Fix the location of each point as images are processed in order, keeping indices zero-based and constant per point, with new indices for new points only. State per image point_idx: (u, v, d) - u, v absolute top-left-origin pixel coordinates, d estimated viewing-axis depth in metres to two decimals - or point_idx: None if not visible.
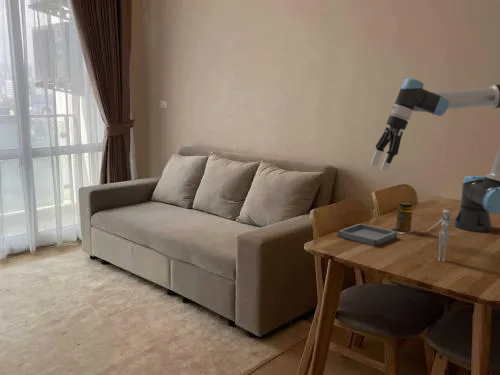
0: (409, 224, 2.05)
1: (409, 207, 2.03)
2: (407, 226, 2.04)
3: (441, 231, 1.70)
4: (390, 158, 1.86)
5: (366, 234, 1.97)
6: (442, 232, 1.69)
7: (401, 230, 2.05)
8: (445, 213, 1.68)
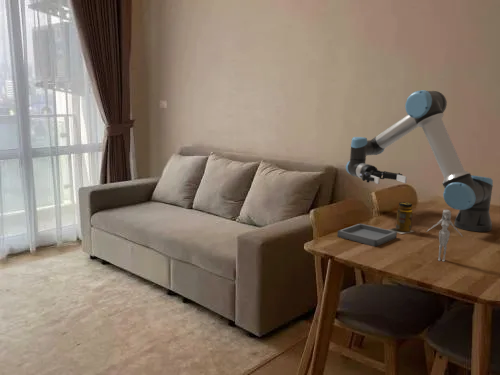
0: (409, 224, 2.05)
1: (409, 207, 2.03)
2: (407, 226, 2.04)
3: (441, 231, 1.70)
4: (369, 178, 2.15)
5: (366, 234, 1.97)
6: (442, 232, 1.69)
7: (401, 230, 2.05)
8: (445, 213, 1.68)
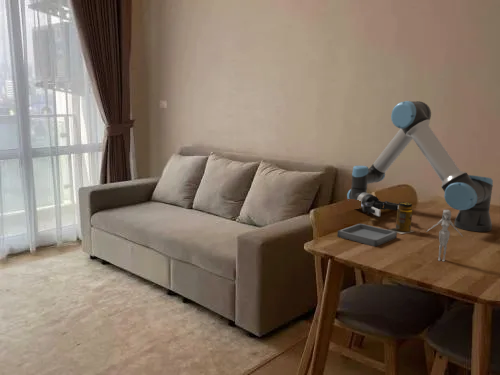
0: (409, 224, 2.05)
1: (409, 207, 2.03)
2: (407, 226, 2.04)
3: (441, 231, 1.70)
4: (370, 210, 2.14)
5: (366, 234, 1.97)
6: (442, 232, 1.69)
7: (401, 230, 2.05)
8: (445, 213, 1.68)
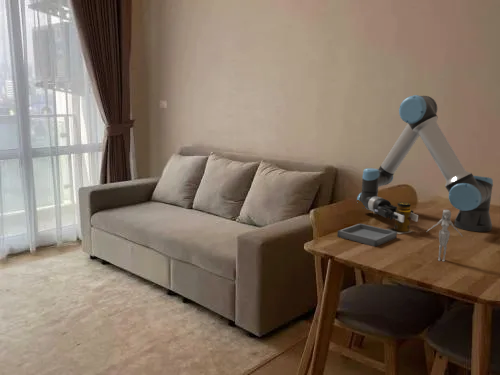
0: (407, 224, 2.04)
1: (408, 207, 2.03)
2: (406, 226, 2.04)
3: (441, 231, 1.70)
4: (392, 216, 2.05)
5: (366, 234, 1.97)
6: (442, 232, 1.69)
7: (399, 230, 2.05)
8: (445, 213, 1.68)
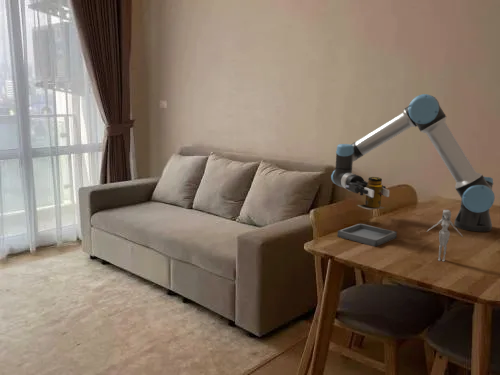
0: (378, 200, 1.94)
1: (378, 181, 1.93)
2: (376, 201, 1.94)
3: (441, 231, 1.70)
4: (363, 191, 1.95)
5: (366, 234, 1.97)
6: (442, 232, 1.69)
7: (370, 206, 1.95)
8: (445, 213, 1.68)
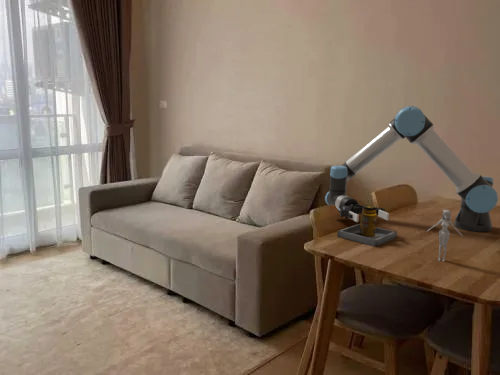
0: (373, 228, 1.93)
1: (373, 210, 1.92)
2: (371, 230, 1.93)
3: (441, 231, 1.70)
4: (347, 215, 1.94)
5: None
6: (442, 232, 1.69)
7: (364, 235, 1.94)
8: (445, 213, 1.68)
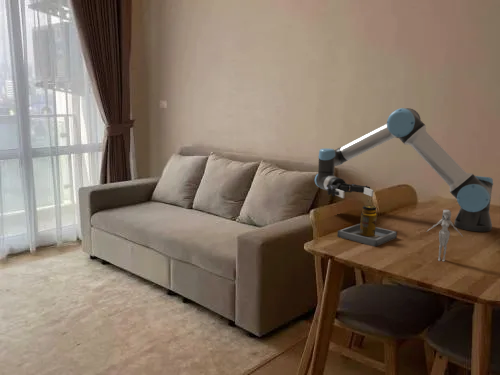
0: (373, 228, 1.93)
1: (373, 210, 1.92)
2: (371, 230, 1.93)
3: (441, 231, 1.70)
4: (334, 192, 2.06)
5: None
6: (442, 232, 1.69)
7: (364, 235, 1.94)
8: (445, 213, 1.68)
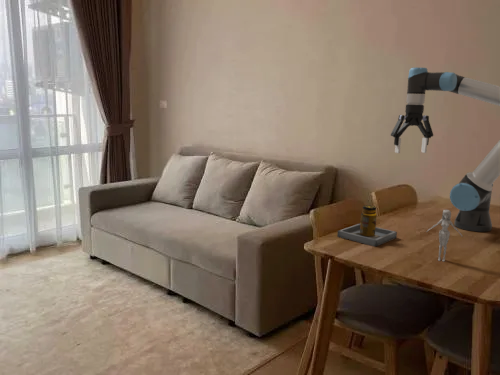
0: (373, 228, 1.93)
1: (373, 210, 1.92)
2: (371, 230, 1.93)
3: (441, 231, 1.70)
4: (395, 140, 2.12)
5: None
6: (442, 232, 1.69)
7: (364, 235, 1.94)
8: (445, 213, 1.68)
